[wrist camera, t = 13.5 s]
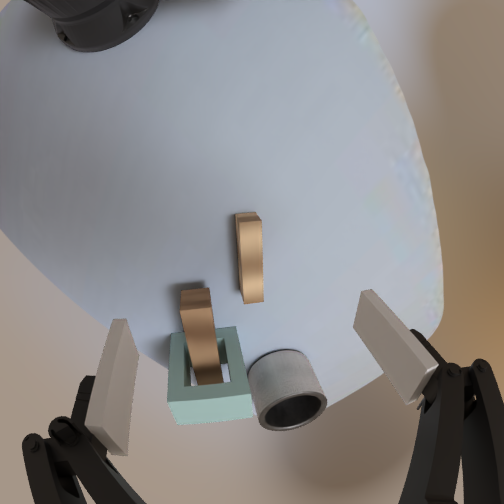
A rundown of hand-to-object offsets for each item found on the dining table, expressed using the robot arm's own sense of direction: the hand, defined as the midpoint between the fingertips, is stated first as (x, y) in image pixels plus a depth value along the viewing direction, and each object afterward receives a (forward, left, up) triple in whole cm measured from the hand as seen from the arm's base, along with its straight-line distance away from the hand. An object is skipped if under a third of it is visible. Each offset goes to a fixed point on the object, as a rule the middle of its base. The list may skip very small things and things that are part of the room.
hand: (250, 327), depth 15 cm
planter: (+33, +9, -25) cm, 42 cm away
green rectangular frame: (+23, -4, -25) cm, 34 cm away
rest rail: (+7, +4, -25) cm, 26 cm away
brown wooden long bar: (+21, -4, -23) cm, 31 cm away
